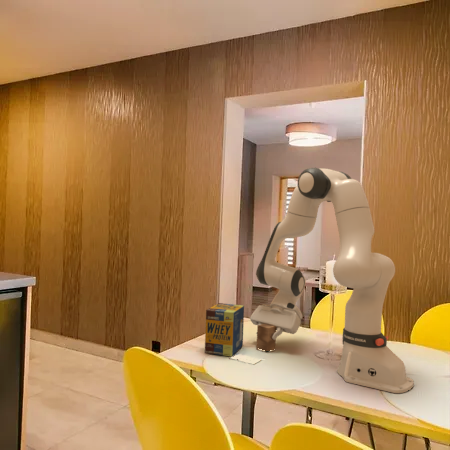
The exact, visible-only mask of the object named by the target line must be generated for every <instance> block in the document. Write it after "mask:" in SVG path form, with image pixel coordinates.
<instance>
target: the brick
mask: <svg viewBox="0 0 450 450" xmlns="http://www.w3.org/2000/svg"><path fill="white" fill-rule="evenodd" d="M256 326H257V329H256V333H257V334H256V349H257V348H259V349H262V350H265V351H270V350H274V349H275V350H276V342H277V341H276V340H273V339H271V338H270V336H271V334H272V333H275V332H276V331H277V330H276V326H272V325H268V324H261V325H256ZM275 350H274V351H275Z"/></svg>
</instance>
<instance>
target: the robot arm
mask: <svg viewBox="0 0 450 450" xmlns="http://www.w3.org/2000/svg"><path fill="white" fill-rule="evenodd" d="M323 202H327V203H331V204H332V205H333V208H334V209H333V210H334V215H335V220H336V225H337V231H338V235H339V249H338V256H337V259H336V261H335V262H334V264H333V268H332V273H333V277H334V279H335V281H336V282H337V283H338V284H339V285H341V286H343V287H345V288H349V289H352V293H351V296H350V297H349V299H348V300H347V302H345V311H344V327H343V329H342V339H341V340H342V351H341V358H340V362H339V365H338V368H337V374H338V375H339V376H340V377H342V378H343V380H344V381H345V382H347V383H350V384H355V385H359V386H362V387H363V386H364V387H368V388H372V389H374V390H375V389H376V390H380V391H384V392H389V393H393V394H402V393H406V392H409V391H411V388H412V387H413V388H414V386H415V383H414V380H413V379H412V378H411V377H408V376H407V371H406V370H407V369H406V365H405V363H404V360H402V359H401V358H400V357H399V356H398V355H397V354H395V352H393V350H392V349H390V348H389V347H388V346H387V344H388V340H389V335H386V336H385V335H384V334H383V333H382V317H383V316H382V315H383V309H384V308H383V307H384V303H385V298H386V294H387V291H388V288H389V284H390V283H391V281H392V279H393V278H394V276H395V274H396V266H395V264H394V262H393V260H392V259H391V258H390V256H389V257H388V256H386V255H385V254H382V253H379V252H372V240H373V236H374V235H375V233H376V232H375V226H374V221H373V217H372V212H371V208H370V207H371V206H370V204H369V200H368V198H367V194H366V192H365V190H364V187H363V185H362V184H361V182H360V181H359V180H357V179H354V178H352V177H351V176H350V175H349V174H347V173H345V172H343V171H337V170H334V169H330V168H325V167H323V168H320V167H319V168H318V167H309V168H307V169H304V170H303V171H301V173H300V174H299V176H298V179H297V186H295V188H294V190H293V191H292V195H291V197H290V199H289V204H288V207H287V212H286V215H285V217H284V218H283V220H281V221H279V222H277V223H276V224H275V226H274V228H273V230H272V232H271V235H270V237H269V239H268V242H267V246H266V247H265V250H264V252H263V255H262V258H261V260H260V262H259V263H258V266H257V268H256V272H255V275H256V278H257V280H258V282H259V283H260V284H262V285H265V286H268V287H269V286H270V287H273V288H276V289H278V292H277V293H276V294H275V295H274V297H273V299H272V301H271V302H270V304H265V303H262V304H260V305H258V306H257V307H256V308H255V309H254V311H253V312H252V314H251V315H250V319H249V320H250V322H251V324H253V325H254V326H258V325H261V324H268V325H272V326H276V332H275V333H272V334H271V336H270V338H271V339H273V340H276V339H277V337H279V336H281V335H282V334H283V333H287V334H291V335H294V334H296V333H297V332H298V330H299V328H300V326H301V323H302V322H301V320H302V319H303V313H302V312H301V311H302V310H301V309H300V308H299V307H298V305H297V302H298V301H299V300H300V298H301V296H302V294H303V292H304V290H305V286H306V282H307V279H306V277H305V276H304V274H303V272H302V271H301V270H300V269H298V268H297V267H293V266H290V265H286V264H283V263H281V262H278V261H277V260H276V257H277V254H278V252H279V249H280V247H281V244H282V242H283V241H284V240H287V239H291V238H292V239H294V238H299V237H300V238H301V237H304V236H307V235H308V234H310V233H311V232H312V231H313V230H314V227H315V224H316V221H317V217H318V211H319V207H320V206H321V204H322V203H323ZM255 334H256V335H257V332H256V333H255ZM413 385H414V386H413ZM413 388H412V389H413ZM408 390H409V391H408Z"/></svg>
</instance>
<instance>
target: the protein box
mask: <svg viewBox="0 0 450 450" xmlns="http://www.w3.org/2000/svg"><path fill="white" fill-rule="evenodd" d="M244 313H245V305H241V304H233V303H232V304H231V303H223V302H219V303H217V304H214V305H213V306H211V307H209V308H208V309H206V310H205V333H204V337H205V338H204V354H208V355H215V356H216V355H219V356H225V357H232V356H234V355H236V354H237V352H238V351H239V350H240V349H241V348H242V347H243V346H244V343H243V342H244V320H245V318H244V317H245V315H244Z"/></svg>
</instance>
